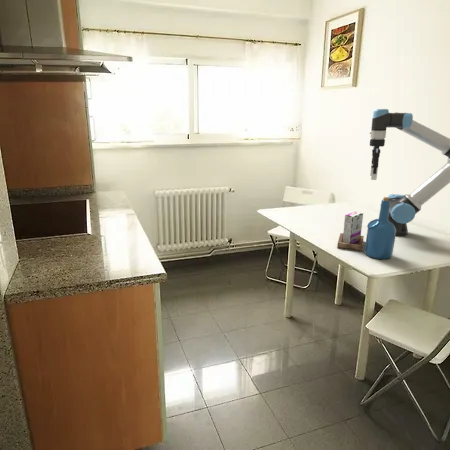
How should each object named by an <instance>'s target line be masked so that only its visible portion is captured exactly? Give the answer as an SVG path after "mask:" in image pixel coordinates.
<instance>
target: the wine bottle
mask: <svg viewBox="0 0 450 450" xmlns="http://www.w3.org/2000/svg"><path fill="white" fill-rule="evenodd" d="M389 207H390V200H389V197H388V196H383V198H382V200H381V202H380V210H379V214H378V218H376V219H372V220H371V221H370V222H368V224H367V226H366V227H367V232H366V238H365V246H364V255H366V256H368V257H370V258H372V259H375V260H377V259H378V260H389V259H391V258H392V257H393V254H394V248H395V241H396V240H395V239H396V237H397V236H396V228H395V226H394V224H392V223H391V222H389V221H388V216H389Z"/></svg>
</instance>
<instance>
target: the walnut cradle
mask: <svg viewBox="0 0 450 450" xmlns="http://www.w3.org/2000/svg"><path fill="white" fill-rule="evenodd" d="M364 237H365V236H364V235H361V237H360V242H358V243H356V244H350V243H342V242H343V232H340V234H339V237H338V241H337V246H336V248H337V249H341V250H348V251H354V252H355V251H356V252H363V247H364V239H365V238H364Z"/></svg>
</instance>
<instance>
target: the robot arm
mask: <svg viewBox="0 0 450 450" xmlns="http://www.w3.org/2000/svg"><path fill="white" fill-rule="evenodd" d="M389 110H390V109H388V108H375V109H373V112H372V113H373V114H372V117H371V118H372V119H371V127H370V128H371V129H370V130H371V131H370V132H369V134H370V140H369V146H370V147H373V149H372V150H371V152H372V153H371V156H372V157H371V163H370V164H371V166H370V175H369V176H370V180H371V181H377V177H378V169H379V159H380V155H381V148H382V147H384V146H385V145H386V144H385V142H386V137H387V128H393V129H394V128H395V129H397V130H398V131H402V132H404V133H405V134H407V135H409V136H411V137H413V138H415V139H417V140H419V141H421V142H423V143H425V144H427V145H429V146H430V147H432V148H435V149H436V150H438V151H441V154H442V155H443V156H445V157H447V162H446V163H445V164H444V165H443V166H441V168H439V169H438V170H437V171H436V172H435V173H434V174H432V175H431V176H429V178H428V179H426V180H425V181H424V182H423V183H422V184H420V185H419V186H418V187H417V188H416V189H414V190H413V191H412V192H410V194H398V193H397V194H395V193H392V194H389V195H388V196H387V197H389V200H390V207H389V216H388V221H389V222H391V223H392V224H394V226H395V228H396V236H395V237H402V236H406V235H408V231H409V228H408V223H410V222H412V221H413V220H414V219H415V216H416V214H418V213H419V212H420V211H421V210H422V206H423V205H425V203H427V202H428V201H429V200H430V199H431V198H432V197H434V196H436V194H437V193H439V192H440V191H441V190H442V189H444V188H445V187H446V186H447V185H449V184H450V138H449V137H447V136H446V135H444V134H442V133H440V132H438V131H436V130H434V129H431V128H429V127H427V125H424V124H421V123H419V122H417V121H416V120H414V118H413V117H414V116H413V113H411V112H389ZM380 147H381V148H380Z"/></svg>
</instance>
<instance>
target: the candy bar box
mask: <svg viewBox="0 0 450 450" xmlns="http://www.w3.org/2000/svg"><path fill="white" fill-rule="evenodd" d="M363 219H364V212H360V211H352V212H350V213H348V214H345V215H344V223H343V232H342V233H343V242H342V243H350V244H356V243H358V242H360V237H361V236H362V227H363Z"/></svg>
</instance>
